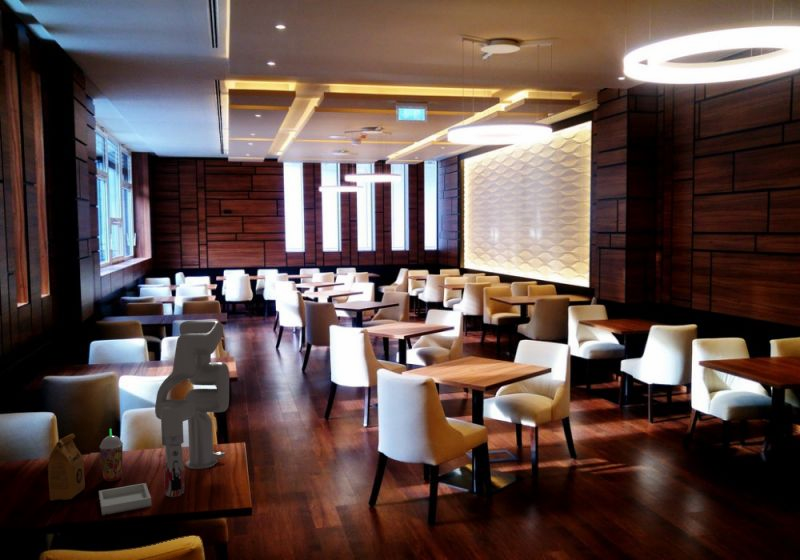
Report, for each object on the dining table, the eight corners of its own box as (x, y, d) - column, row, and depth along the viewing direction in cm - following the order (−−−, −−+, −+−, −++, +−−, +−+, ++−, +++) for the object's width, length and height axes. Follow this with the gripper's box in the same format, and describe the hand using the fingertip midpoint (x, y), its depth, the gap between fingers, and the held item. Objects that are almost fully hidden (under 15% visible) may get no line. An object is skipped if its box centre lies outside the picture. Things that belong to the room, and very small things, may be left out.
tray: (145, 490, 256) (145, 482, 256) (151, 506, 242) (151, 497, 242) (99, 498, 249) (98, 490, 249) (102, 515, 235) (101, 506, 235)
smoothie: (96, 480, 267) (94, 430, 265) (114, 473, 274) (112, 424, 273) (111, 484, 263) (108, 433, 261) (129, 477, 270) (126, 427, 269)
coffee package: (90, 489, 258) (87, 432, 257) (71, 502, 246) (68, 442, 244) (64, 488, 259) (61, 431, 257) (45, 502, 247) (41, 442, 245)
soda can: (164, 492, 254) (163, 461, 253) (184, 489, 257) (183, 458, 256) (164, 499, 248) (163, 467, 247) (185, 496, 250) (184, 464, 249)
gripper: (187, 444, 245) (189, 492, 246) (179, 431, 260) (181, 476, 261) (165, 447, 241) (167, 496, 243) (158, 434, 257) (160, 480, 258)
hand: (174, 485), depth 252 cm, fingers open, 7 cm apart
